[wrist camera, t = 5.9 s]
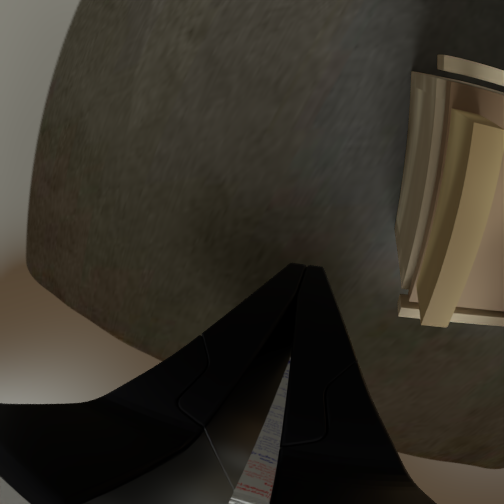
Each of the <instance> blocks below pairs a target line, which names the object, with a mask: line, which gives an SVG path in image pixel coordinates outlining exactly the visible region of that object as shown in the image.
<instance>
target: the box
mask: <svg viewBox="0 0 504 504" xmlns="http://www.w3.org/2000/svg"><path fill="white" fill-rule="evenodd" d="M437 69H438V70H443V71H448V72H452V73H457V74H461V75H465V76H469V77H473V78H477V79H481V80H484V81H488V82H491V83H495V84H498V85H501V86H504V71H503V70H500V69H497V68H494V67H491V66H487V65H484V64H480V63H477V62H473V61H469V60H465V59H461V58H457V57H453V56H448V55H437ZM447 80H448V81H453V82H457V83H462V84H466V85H470V86H474V87H478V88H482V89H485V90H489V91H492V92H496V93H499V94H503V95H504V92H501V91H497V90H494V89H490V88H487V87H483V86H480V85H476V84H472V83H468V82H464V81H459V80H455V79H451V78H446V77H441V76H436V75H431V74H426V73H420V72H414V71H411V92H410V109H409V123H408V135H407V145H406V154H405V163H404V171H403V178H402V185H401V192H400V199H399V205H398V211H397V217H396V223H395V228H394V229H395V236H396V243H397V251H398V258H399V267H400V276H401V286H402V289H410V286H411V282H412V279H413V275H414V272H415V268H416V265H417V261H418V257H419V253H420V249H421V246H422V242H423V237H424V233H425V229H426V225H427V220H428V216H429V211H430V206H431V201H432V196H433V191H434V185H435V180H436V174H437V167H438V161H439V154H440V147H441V139H442V131H443V121H444V111H445V98H446V82H447ZM398 316H400V317H409V318H419V319H420V311H419V303H418V302H409V297H408V295H405V294H400V296H399V300H398ZM450 322H459V323H470V324H482V325H494V326H504V311H495V310H484V309H474V308H464V307H456V308H455V311H454V313H453V315H452V317H451V320H450Z"/></svg>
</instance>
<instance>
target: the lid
mask: <svg viewBox="0 0 504 504" xmlns="http://www.w3.org/2000/svg"><path fill="white" fill-rule="evenodd" d="M408 297H409V302H418V303H419V311H420V320H421V325H427V326H437V327H447V326H448V324H449V322H450V320H451V317H452V315H453V313H454V311H455V308H456V307H464V308H474V309H484V310H495V311H504V95H503V94H499V93H496V92H492V91H489V90H485V89H482V88H478V87H474V86H470V85H466V84H462V83H457V82H453V81H448V80H447V82H446V98H445V111H444V121H443V131H442V139H441V147H440V154H439V161H438V167H437V174H436V180H435V185H434V191H433V196H432V201H431V206H430V211H429V216H428V220H427V225H426V229H425V233H424V237H423V242H422V246H421V249H420V253H419V257H418V261H417V265H416V268H415V272H414V275H413V279H412V282H411V286H410V289H409V292H408Z"/></svg>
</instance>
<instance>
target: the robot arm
mask: <svg viewBox="0 0 504 504" xmlns="http://www.w3.org/2000/svg"><path fill="white" fill-rule="evenodd" d="M290 357H291V359H290ZM289 360H290V368H289V377H288V386H287V394H286V402H285V410H284V418H283V426H282V433H281V440H280V449H279V454H278V461H277V467H276V473H275V478H274V483H273V488H272V493H271V498H270V502H269V504H436V503H435V502H434V501H433V500H432V499H431V498H429V497H428V496H427V495H426V494H425V493H424V492H423V491H422V490H421V489H420V488H419V487H418V486H417V485H416V484H415V483H414V482H413V480H412V479H411V477H410V476H409V474H408V472H407V471H406V469H405V467H404V465H403V463H402V461H401V459H400V457H399V455H398V453H397V451H396V449H395V446H394V444H393V442H392V440H391V438H390V436H389V434H388V432H387V430H386V428H385V426H384V424H383V422H382V420H381V418H380V416H379V413H378V411H377V409H376V407H375V405H374V402H373V400H372V398H371V396H370V393H369V391H368V388H367V385H366V383H365V380H364V377H363V374H362V371H361V369H360V366H359V363H357V362H358V360H357V357H356V354H355V352H354V349H353V346H352V343H351V340H350V337H349V335H348V332H347V329H346V326H345V324H344V321H343V318H342V315H341V313H340V310H339V307H338V305H337V302H336V299H335V297H334V294H333V291H332V289H331V286H330V283H329V281H328V278H327V276H326V273H325V271H324V268H323V267H320V266H312V265H309V266H307V267H306V265H304V264H296V263H290V264H289V265H287V266H286V267H285V268H284V269H282V270H281V271H280V272H279V273H277V274H276V275H275V276H274V277H273V278H271V279H270V280H269V281H268V282H266V283H265V284H264V285H263V286H261V287H260V288H259V289H258V290H256V291H255V292H254V293H253V294H251V295H250V296H249V297H248V298H246V299H245V300H244V301H243V302H241V303H240V304H239V305H238V306H236V307H235V308H234V309H232V310H231V311H230V312H229V313H227V314H226V315H225V316H224V317H222V318H221V319H220V320H218V321H217V322H216V323H215V324H213V325H212V326H211V327H210V328H208V329H207V330H206V331H204V332H203V333H202V336H201V335H199V336H198V337H196V338H195V339H194V340H193V341H191V342H190V343H189V344H187V345H186V346H184V347H183V348H182V349H180V350H179V351H178V352H176V353H175V354H173V355H172V356H170V357H169V358H167V359H166V360H164V361H163V362H161V363H159V364H158V365H156V366H155V367H153V368H152V369H150V370H148V371H146V372H145V373H143V374H141V375H139V376H138V377H136V378H134V379H133V380H131V381H129V382H127V383H126V384H124V385H122V386H121V387H119V388H117V389H115V390H114V391H112V392H110V393H108V394H106V395H104V396H102V397H100V398H97V399H95V400H91V401H88V402H82V403H70V404H2V403H0V504H228V503H229V501H230V499H231V497H232V495H233V493H234V491H233V490H235V488H236V486H237V484H238V482H239V480H240V477H241V475H242V473H243V471H244V469H245V466H246V464H247V462H248V460H249V457H250V455H251V453H252V451H253V448H254V446H255V444H256V441H257V439H258V437H259V434H260V432H261V430H262V427H263V425H264V423H265V420H266V418H267V415H268V413H269V411H270V408H271V406H272V403H273V401H274V398H275V396H276V393H277V391H278V388H279V386H280V383H281V380H282V378H283V375H284V373H285V370H286V367H287V365H288V362H289Z"/></svg>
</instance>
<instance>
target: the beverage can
mask: <svg viewBox="0 0 504 504" xmlns="http://www.w3.org/2000/svg"><path fill="white" fill-rule="evenodd" d="M290 359H291V357H290ZM289 368H290V360H289V362H288V365H287V367H286V370H285V373H284V375H283V378H282V380H281V383H280V386H279V388H278V391H277V393H276V396H275V398H274V401H273V403H272V406H271V408H270V411H269V413H268V415H267V418H266V420H265V423H264V425H263V427H262V430H261V432H260V434H259V437H258V439H257V441H256V444H255V446H254V448H253V451H252V453H251V455H250V457H249V460H248V462H247V464H246V466H245V469H244V471H243V473H242V475H241V477H240V480H239V482H238V484H237V486H236V488H235V490H233V491H234V493H233V495H232V497H231V499H230V501H229V503H228V504H269V502H270V498H271V493H272V488H273V483H274V478H275V473H276V467H277V461H278V454H279V449H280V440H281V433H282V426H283V418H284V410H285V402H286V394H287V386H288V377H289Z"/></svg>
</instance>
